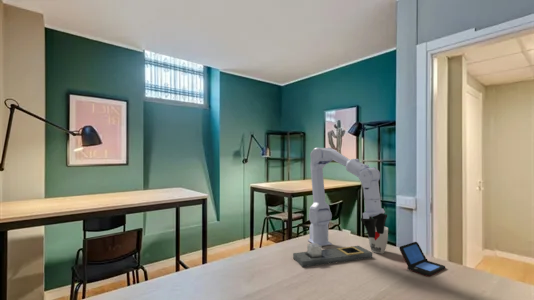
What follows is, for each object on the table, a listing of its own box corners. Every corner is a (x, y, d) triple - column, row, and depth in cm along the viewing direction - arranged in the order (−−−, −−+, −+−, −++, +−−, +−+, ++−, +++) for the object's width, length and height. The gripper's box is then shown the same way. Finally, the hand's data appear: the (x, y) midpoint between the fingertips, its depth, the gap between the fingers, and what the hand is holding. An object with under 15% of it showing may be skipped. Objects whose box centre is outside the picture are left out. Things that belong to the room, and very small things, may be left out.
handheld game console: (429, 278, 93) (428, 255, 93) (398, 267, 102) (398, 246, 102) (447, 269, 100) (446, 248, 100) (416, 259, 109) (416, 240, 109)
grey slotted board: (293, 258, 111) (293, 252, 111) (358, 250, 120) (358, 245, 120) (302, 267, 102) (302, 261, 102) (372, 257, 111) (372, 252, 111)
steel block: (307, 259, 110) (307, 243, 110) (316, 258, 111) (316, 242, 111) (312, 263, 106) (311, 247, 106) (321, 261, 107) (321, 246, 107)
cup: (363, 249, 120) (363, 226, 120) (377, 247, 124) (377, 224, 124) (378, 256, 113) (378, 231, 113) (392, 252, 116) (392, 228, 116)
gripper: (374, 201, 100) (378, 240, 98) (390, 197, 110) (394, 232, 109) (355, 201, 104) (359, 238, 103) (372, 197, 115) (376, 231, 113)
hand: (376, 235), depth 106 cm, fingers open, 7 cm apart
